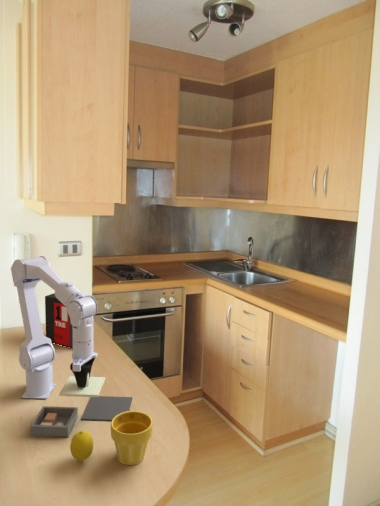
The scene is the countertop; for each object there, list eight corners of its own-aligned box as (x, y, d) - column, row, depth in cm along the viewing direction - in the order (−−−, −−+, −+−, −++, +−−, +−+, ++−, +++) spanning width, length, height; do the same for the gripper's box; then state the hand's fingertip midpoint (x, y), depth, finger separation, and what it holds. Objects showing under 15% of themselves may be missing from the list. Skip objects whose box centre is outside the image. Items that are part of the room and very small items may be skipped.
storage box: (43, 415, 123) (43, 406, 123) (77, 416, 123) (77, 407, 123) (30, 436, 114) (30, 426, 113) (68, 437, 114) (67, 427, 113)
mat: (91, 396, 135) (91, 395, 135) (132, 398, 135) (132, 397, 135) (81, 419, 122) (81, 418, 122) (126, 421, 122) (126, 420, 122)
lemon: (95, 453, 108) (95, 424, 106) (90, 468, 102) (90, 438, 101) (73, 453, 107) (73, 424, 106) (67, 467, 102) (67, 437, 101)
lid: (70, 380, 127) (69, 365, 126) (105, 381, 127) (105, 366, 126) (59, 398, 117) (59, 382, 116) (97, 399, 117) (97, 383, 116)
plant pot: (153, 469, 103) (154, 432, 101) (110, 472, 101) (110, 435, 99) (150, 442, 113) (151, 409, 111) (111, 445, 111) (111, 411, 109)
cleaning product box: (46, 342, 177) (45, 296, 173) (60, 335, 185) (59, 291, 181) (77, 350, 170) (77, 302, 167) (91, 342, 178) (91, 297, 175)
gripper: (91, 349, 112) (91, 397, 115) (102, 330, 126) (102, 372, 129) (64, 348, 112) (65, 396, 115) (79, 329, 127) (79, 371, 129)
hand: (83, 383), depth 122 cm, fingers closed on lid, 3 cm apart
